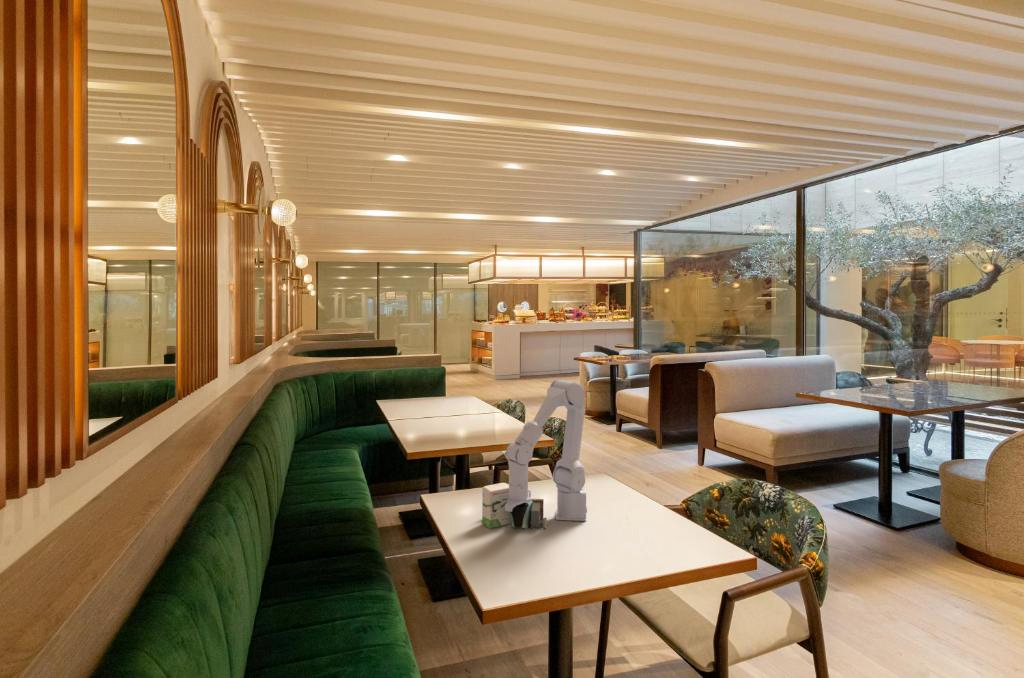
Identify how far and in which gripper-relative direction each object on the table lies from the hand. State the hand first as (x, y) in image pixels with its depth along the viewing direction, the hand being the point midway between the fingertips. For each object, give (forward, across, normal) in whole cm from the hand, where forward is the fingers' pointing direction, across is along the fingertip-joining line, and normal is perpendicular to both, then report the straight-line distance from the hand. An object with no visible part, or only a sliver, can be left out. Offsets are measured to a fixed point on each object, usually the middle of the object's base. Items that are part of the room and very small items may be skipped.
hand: (518, 527), depth 176 cm
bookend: (+1, +7, -3) cm, 8 cm away
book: (+1, +6, +1) cm, 6 cm away
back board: (+1, +10, +5) cm, 11 cm away
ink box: (+1, +2, +8) cm, 9 cm away
